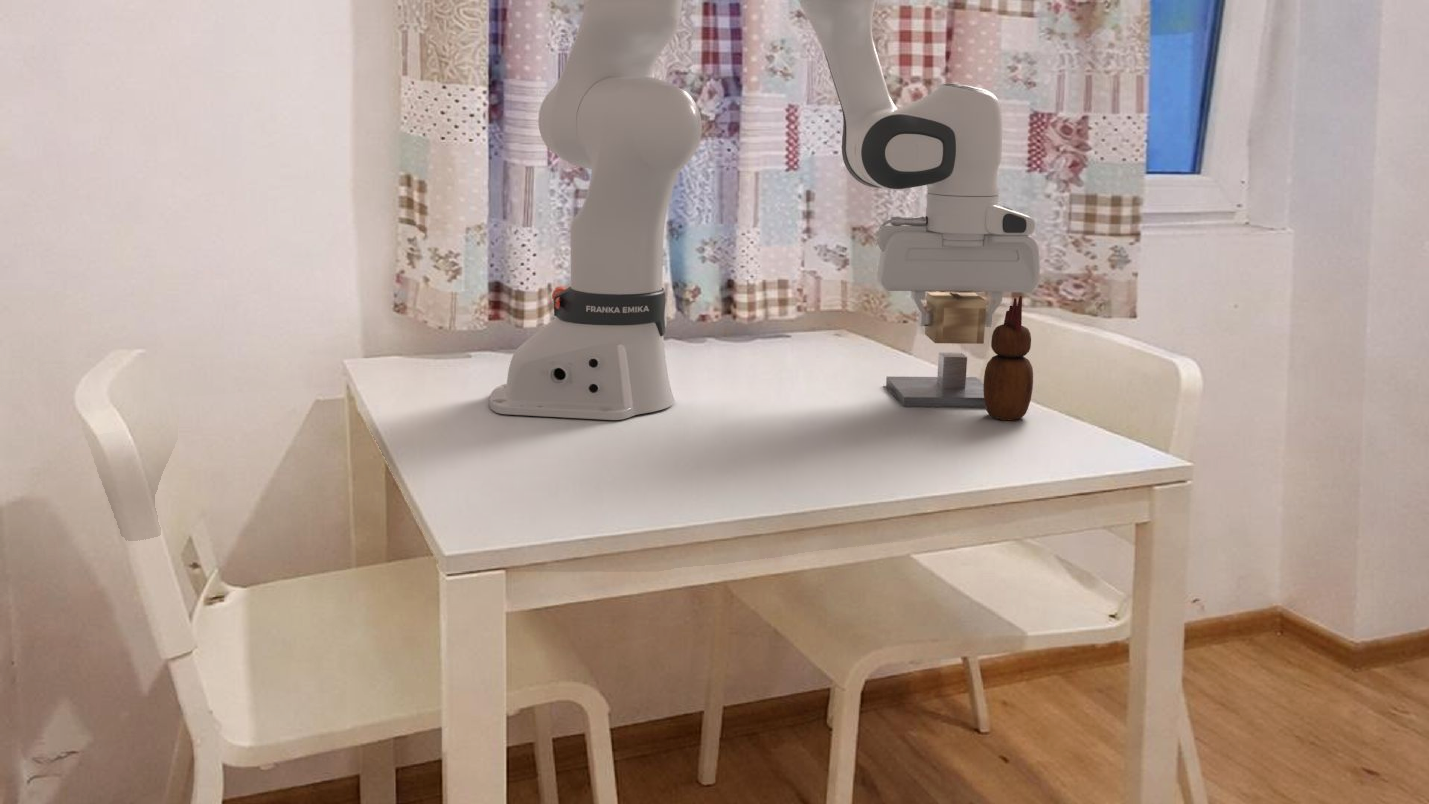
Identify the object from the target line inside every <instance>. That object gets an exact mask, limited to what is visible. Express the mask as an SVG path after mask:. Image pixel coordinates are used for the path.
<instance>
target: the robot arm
mask: <svg viewBox="0 0 1429 804" xmlns="http://www.w3.org/2000/svg"><path fill="white" fill-rule="evenodd" d="M797 1H798V3H799V4H800V6H801V8H802V9H803V11H804V14H805V16H806V18H807V20H808V21H809V23H810V25H811V27H812V29H813V31H814V32H815V35H816V37H817V39H818V40H819V43H820V45H821V48H822V50H823V54H824V57H825V59H826V63H827V64H828V69H829V71H830V76H831V78H832V81H833V84H834V85H833V86H834V88H835V92H836V94H837V97H838V101H839V103H840V108H841V112H842V118H843V119H842V120H843V121H842V122H843V125H842V127H843V128H842V137H841V155H842V161H843V163H844V166H845V168H846V170H847V171H848V173H849V174H850V176H852V177H853V178H854V179H855V180H856V181H857V182H859V183H860V184H862V185H864V186H867V187H870V188H872V189H873V188H875V189H884V190H889V191H894V192H895V191H905V190H909V189H910V190H911V189H912V188H917V187H922V186H923V187H924V186H926V189H927V193H926V209H925V216H908V217H902V216H891V217H890V219H887V220H885V221H884V222H882V224H880V227H879V228H878V233H877V244H878V248H879V249H880V251H881V252H880V254H879V258H878V260H879V261H878V267H877V274H876V275H877V276H876V280H877V283H878V284H879V286H880V287H881V288H882V289H883V290H884V291H887V292H890V291H891V292H911V293H910V298H911V300H912V303H913V304H914V305H915V306H914V307H916V310H917V311H918V321H917V322H918V325H919V327H925V326H932V319H933V313H932V312H931V311H926V307H925V306H924V304H923V302H922V301H925V299H926V292H955V293H977V292H979V293H987V295H986V297H987V299H990V300H989V302H988V303H987V304H986V317H985V328H991V327H992V325H993V324H992V323H993V314H994V313H995V312H996V310H997V309H998V307H999V306H1000V304H1001V303H1002V301H1003V295H1004V294H1003V293H1032V292H1034V291H1035V290H1036V288H1037V287H1038V286H1039V283H1040V272H1041V271H1040V268H1041V267H1040V264H1041V263H1040V251H1039V245H1038V243H1037V241H1036V240H1035V238H1034V237H1032V236H1030V235H1032V234H1033V233H1034V232H1035V229H1036V228H1035V227H1036V222H1035V219H1034V218H1033V217H1031V216H1029V215H1027V214H1025V213H1022V212H1019V211H1015V210H1013V208H1010V207H1009V206H1001V205H1000V203H999V198H1000V197H999V195H1000V192H999V191H1000V190H999V186H998V185H999V184H998V170H999V167H1000V165H1001V161H1002V152H1003V148H1002V147H1003V117H1002V116H1003V115H1002V108H1001V103H1000V100H999V99H998V98H997V96H996V95H995V94H994V93H993V92H991V91H989V90H987V89H985V88H982V87H981V88H979V87H976V86H972V85H966V84H959V83H953V82H951V83H943V84H940V85H939V87H937V88H936V89H935V90H933V91H932V92H930V93H929V94H927V95H926V96H923V97H922V98H920V99H918V100H916V101H914V102H911V103H909V104H906V105H904V106H901V107H899V108H898V107H897V106H896V105H895V104H894V102H893V100H892V98H891V96H890V93H889V90H888V86H887V84H886V83H887V82H886V80H885V75H884V73H883V68H882V66H881V63H880V60H879V59H880V58H879V57H878V52H877V50H876V46H875V43H874V38H873V16H874V10H875V6H876V2H877V0H797ZM682 5H683V0H585V1H584V8H583V12H582V16H581V20H580V24H579V27H578V30H577V33H576V36H575V40H574V42H573V45H572V47H571V50H570V52H569V54H568V57H567V61H566V62H565V65H564V67H563V70H562V72H561V74H560V76H559V79H558V81H557V82H556V84H555V85H554V86H553V87H552V88H551V90H550V91H549V92H548V93H547V94H546V96H545V97H544V99H543V101H541V102H542V103H541V105H540V108H539V113H538V130H539V134H540V136H541V139H542V142H543V143H544V145H545V146H546V147H547V149H548V150H550V152H551V153H552V154H554V155H556V156H557V157H559V158H560V159H562V160H563V161H565V162H567V163H568V164H571V165H573V166H575V167H578V168H582V169H587V170H588V169H589V170H591V174H590V180H589V185H588V189H587V192H586V196H585V199H584V202H583V204H582V206H581V209H579V211H578V212H577V214H575V216H574V218H573V219H572V221H571V224H570V286H569V287H565V286H561V285H560V286H556V287H555V288H554V290H553V291H552V294H551V299H552V301H553V316H554V317H556V318H554V319H553V320H551V321H550V322H548V323H547V324H546V325H545V326H544V327H542V328H540V330H538V331H537V332H536V333H535V334H533V335H532V336H531V337H529V338H528V339H527V340H526V341H524V342H523V343H522V344H521V345H520V346H519V347H517V348H516V350H515V352H514V353H513V354H512V358H511V360H510V363H509V366H508V371H507V380H506V383H504V384H501V385H499V386H497V387H496V388H494V389H493V390H492V391H491V393H490V395H489V403H488V405H489V408H490V409H491V410H492V411H493V412H495V413H497V414H501V415H514V416H531V417H532V416H533V417H548V418H549V417H550V418H551V417H553V418H569V419H571V418H572V419H588V420H606V421H620V420H625V419H628V418H632V417H634V416H636V415H642V414H648V413H654V412H657V411H658V412H659V411H661V410H664V409H667V408H669V407H671V406H672V405H673V404H675V398H674V394H673V389H672V388H671V383H670V378H669V373H668V372H669V371H668V367H667V366H668V365H667V361H666V360H667V358H666V353H665V352H666V350H665V342H664V340H665V339H664V335H665V334H666V329H667V320H668V319H667V317H668V315H667V311H668V306H667V305H668V300H667V295H666V289H665V287H663V269H664V268H663V262H664V257H663V256H664V255H663V254H664V237H665V236H664V233H665V225H666V219H667V218H666V217H667V213H668V209H669V204H670V201H671V197H672V195H673V192H674V191H673V190H674V187H675V185H676V182H677V179H678V177H679V175H680V173H681V171H682V170H683V168H684V167H685V165H687V164H688V162H689V161H690V160H691V159H692V158H693V156H694V155H695V153H696V152H697V149H698V147H699V145H700V142H701V140H702V139H701V138H702V131H703V125H702V124H703V123H702V116H701V112H700V110H699V107H698V105H697V103H696V101H695V100H694V98H693V97H692V96H691V94H690V93H688V92H687V91H686V90H684V89H683V88H681V87H679V86H677V85H674V84H672V83H670V82H667V81H665V80H661V79H659V78H657V77H652V73H653V70H654V68H655V65H656V63H657V61H658V59H659V57H660V55H661V54H662V52H663V50H664V49H665V48H666V46H667V45H669V43H670V42H672V40H673V39H674V37H675V35H676V34H677V32H678V29H679V26H680V18H681V12H682ZM888 224H889V225H888ZM921 300H922V301H921Z"/></svg>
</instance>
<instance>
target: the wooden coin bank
mask: <svg viewBox="0 0 1429 804" xmlns="http://www.w3.org/2000/svg"><path fill="white" fill-rule="evenodd" d="M926 292H927V293H926V307H925V310H926V311H931V312H932V313H933V319H932V326H924V336H926V337H927V338H929V340H931V341H932V342H933V344H961V345H962V344H970V345H971V344H973V345H974V344H978V345H981V344H982V345H983V344H984V343H985V341H984V340H985V330H986V327H985V317H986V307H987V299H986V298H983V297H982V296H980V295H978V294H977V292H951V291H926Z"/></svg>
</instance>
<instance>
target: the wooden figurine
mask: <svg viewBox="0 0 1429 804" xmlns="http://www.w3.org/2000/svg"><path fill="white" fill-rule="evenodd" d="M1022 311H1023V296H1022V295H1020V296H1019V297H1018V301H1017V297H1014V298H1013V302H1012V305H1009V309H1008V310H1006V312H1005V317H1004V322H1003V324H1000V325H998V326H996V327H995V329H993V332H992V335H991V340H990V341H991V342H990V346H991V347H990V348H991V350H992V351H993V352H994V353H995V354H996V355H994V356H992V357H991V358H990V359H989V360H988V362H987V363H986V367H985V369H984V376H983V384H984V386H983V389H984V400H985V406H986V407H985V409H986V410H985V411H986V412H987V413H988V415H989V416H990V417H992V418H995V419H998V420H1002V421H1015V420H1019V419H1021V418H1023V417H1024V416H1025V415H1026V414H1027V412H1028V410H1029V406H1030V403H1031V399H1032V394H1033V390H1034V370H1033V366H1032V363H1031V362H1030V360H1029V359H1028V358H1026V355H1027V354H1028V353H1029V352H1030V350H1031V347H1032V336H1031V332H1030V330H1029V328H1028V327H1026V326H1023V325H1022V320H1023V319H1022V314H1023V312H1022Z"/></svg>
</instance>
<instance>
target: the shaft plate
mask: <svg viewBox="0 0 1429 804" xmlns="http://www.w3.org/2000/svg"><path fill="white" fill-rule="evenodd" d="M967 365H968V356H966V355H965V353H963V352H947V351H946V352H941V351H940V352H938V361H937V376H886V378H885V379H886V381H885V384H886V387H887V388H888V390H890V392H891V393H892V394H893V396H894V397H895V398H896V399H897V401H898V402H899V403H900V404H901V406H903V408H904V407H908V408H909V407H915V408H916V407H918V408H919V407H923V408H927V407H930V408H931V407H932V408H935V407H937V408H938V407H939V408H941V407H942V408H986V406H985V400H984V389H983V386H984V382H982V381H981V380H980V379H979V378H977V376H967V370H968V369H967V368H968V367H967Z"/></svg>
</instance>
